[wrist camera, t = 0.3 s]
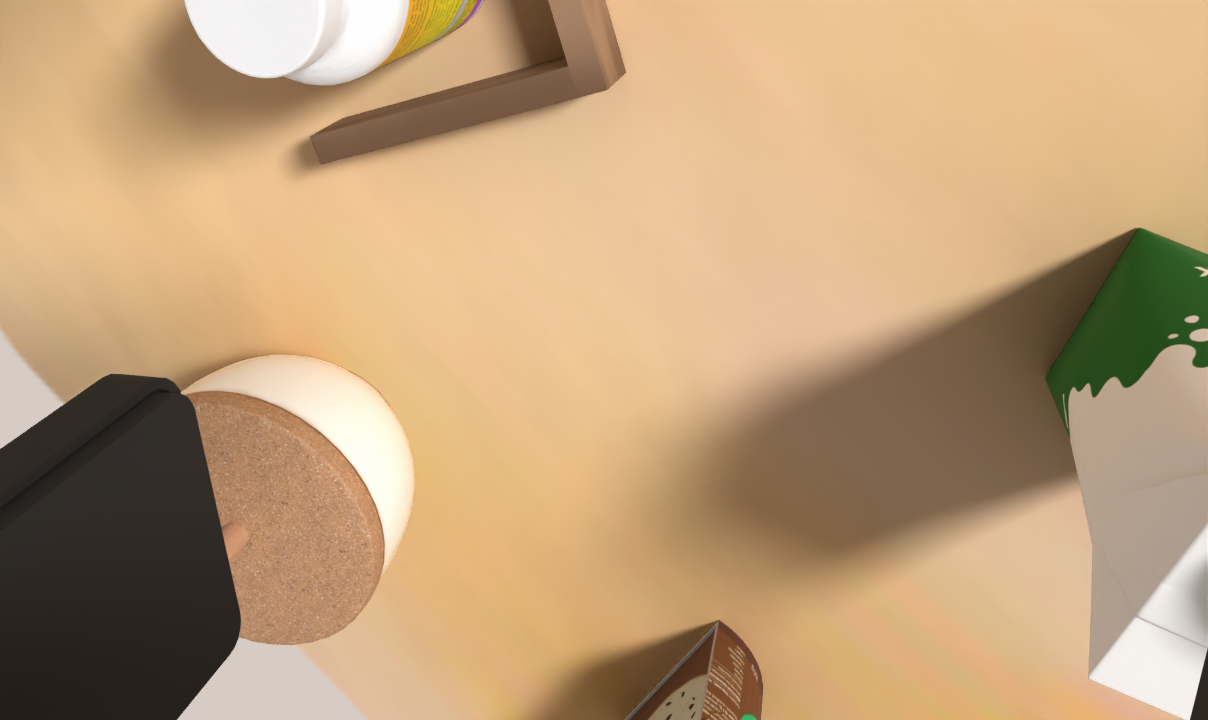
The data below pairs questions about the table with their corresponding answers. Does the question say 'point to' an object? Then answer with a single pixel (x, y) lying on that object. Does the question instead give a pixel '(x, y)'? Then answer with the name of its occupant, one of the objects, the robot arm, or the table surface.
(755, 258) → the table surface
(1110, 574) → the milk carton
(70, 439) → the robot arm
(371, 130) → the holder
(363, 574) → the lidded bowl
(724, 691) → the food container
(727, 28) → the table surface
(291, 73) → the supplement bottle
